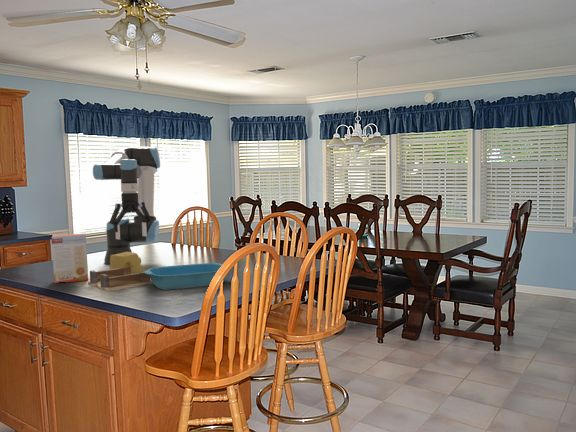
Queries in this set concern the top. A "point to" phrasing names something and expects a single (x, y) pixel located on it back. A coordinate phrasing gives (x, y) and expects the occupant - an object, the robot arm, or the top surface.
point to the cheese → (126, 261)
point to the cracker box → (69, 258)
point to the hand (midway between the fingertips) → (131, 237)
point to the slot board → (118, 279)
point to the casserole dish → (183, 275)
